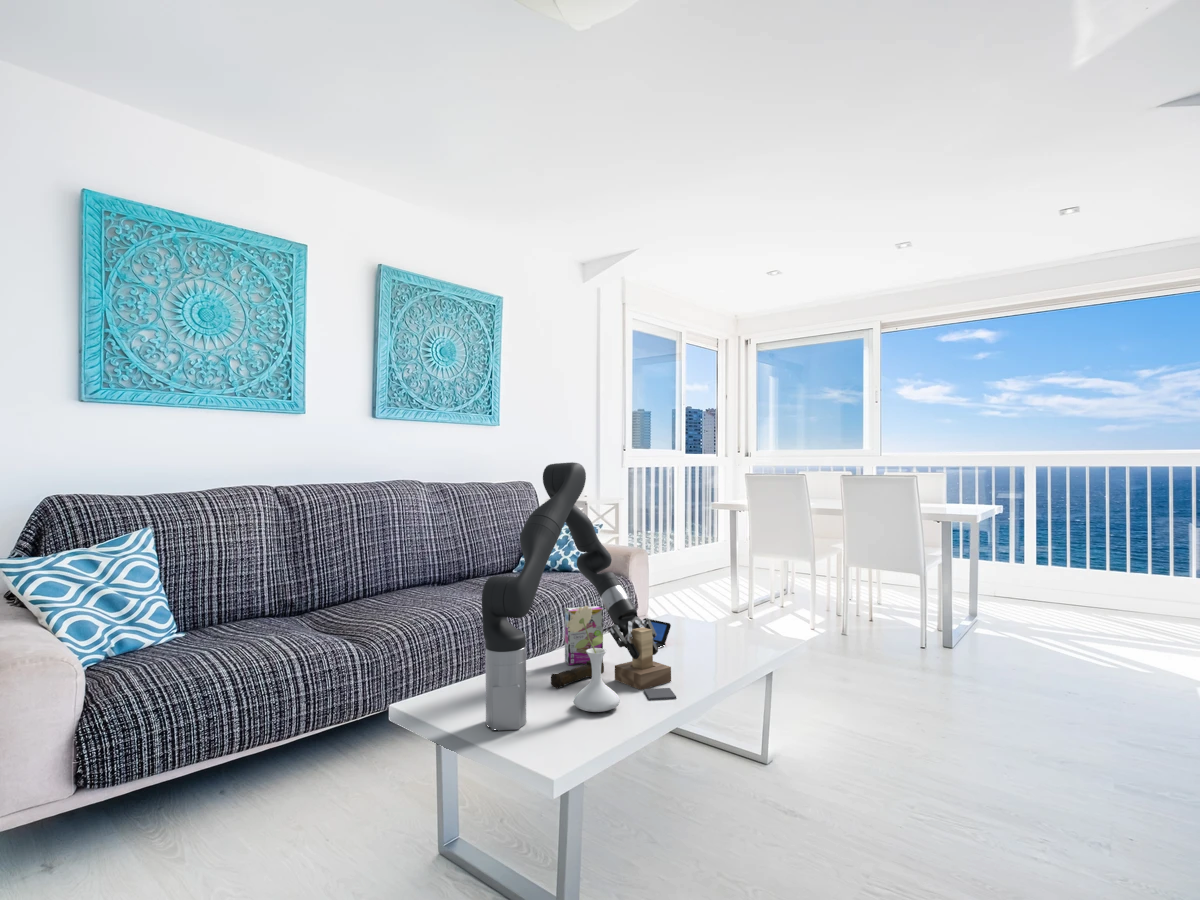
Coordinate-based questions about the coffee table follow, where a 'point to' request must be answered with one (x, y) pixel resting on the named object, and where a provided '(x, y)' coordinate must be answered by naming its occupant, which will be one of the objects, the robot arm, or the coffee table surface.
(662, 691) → the rubber pad
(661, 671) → the socket block
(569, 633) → the candy bar box
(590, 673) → the brown wooden log
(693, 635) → the coffee table surface
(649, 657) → the oak peg
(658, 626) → the handheld game console
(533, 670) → the coffee table surface
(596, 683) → the flower in vase
